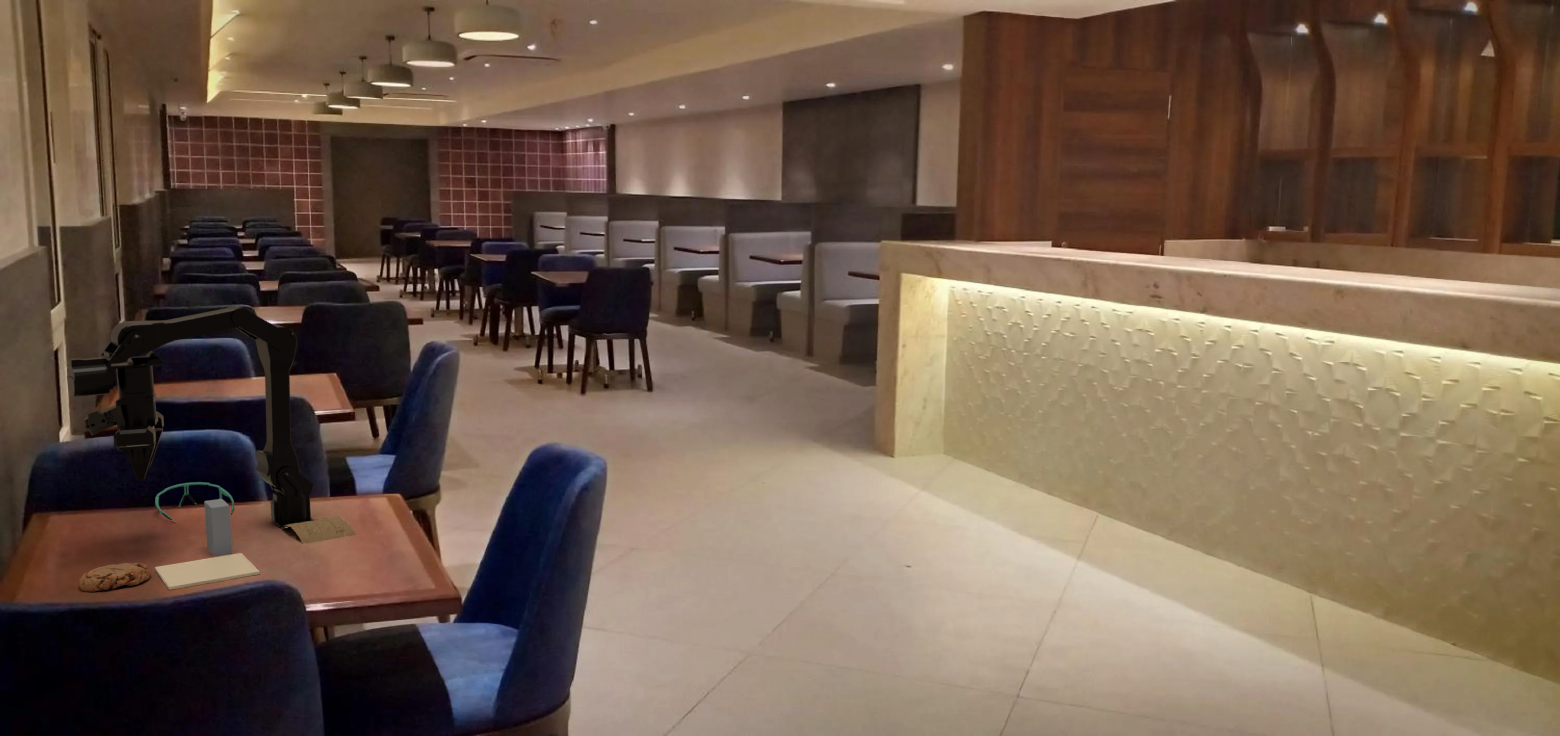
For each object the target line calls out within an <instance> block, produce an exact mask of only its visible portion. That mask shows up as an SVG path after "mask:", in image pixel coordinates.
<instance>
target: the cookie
mask: <svg viewBox="0 0 1560 736" xmlns="http://www.w3.org/2000/svg"><path fill="white" fill-rule="evenodd" d="M151 577H152V572H151V571H150V569H148V565H147V564H145V563H142V562H133V563H131V562H122V563H119V564H108V565H104V566H99V567H96V568H93V569H91V570H89V571H88V572H86V573H85V572H84V573H83V574H82V575H81V577H80V578H79V581H78V584H79V587H78V589H79V590H81V591H82V592H88V593H89V592H91V593H93V592H94V593H95V592H100V591H109V590H114V589H116V588H118V587H122V586H125V585H126V586H132V587H133V586H136V585H139V584H140V583H143V582H145V581H148V580H150V579H151Z"/></svg>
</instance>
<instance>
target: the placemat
mask: <svg viewBox="0 0 1560 736" xmlns="http://www.w3.org/2000/svg"><path fill="white" fill-rule="evenodd" d="M154 570H155V572H156V574H158V576H159V578H160V579H161V580H162V582H163V583H164V585H165V586H166V588H167V589H168V590H169V591H171V590H177V589H182V588H183V589H184V588H188V587H193V586H194V587H195V586H199V585H205V584H211V583H217V582H222V581H229V580H233V579H234V580H235V579H239V578H240V579H241V578H246V577H251V576H257V575H260V574H261V573H260V570H259V569H257V568H256V566H255V565H254V564H253V563H252V562H251V561H250V560H249V559H248V558H247V557H246V556H245V555H244V554H243V553H242V552H239V553H232V554H226V555H220V556H213V557H208V558H203V559H197V560H196V559H195V560H191V561H186V562H185V561H184V562H177V563H172V564H164V565H160V566H159V565H158V566H155V567H154Z"/></svg>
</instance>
